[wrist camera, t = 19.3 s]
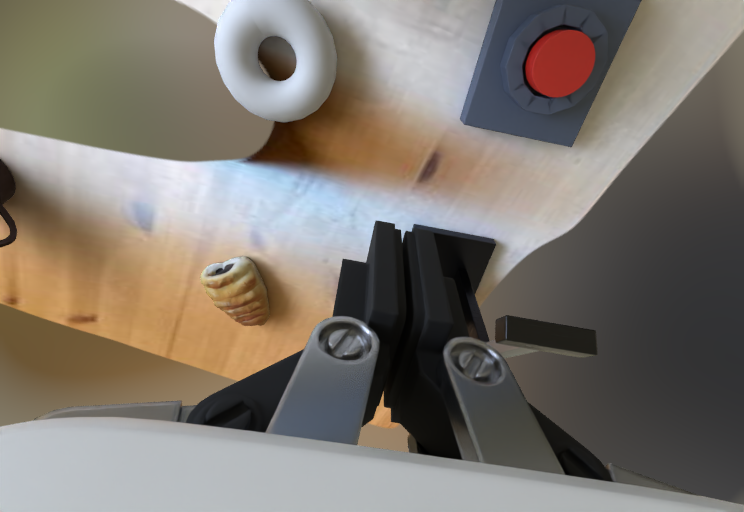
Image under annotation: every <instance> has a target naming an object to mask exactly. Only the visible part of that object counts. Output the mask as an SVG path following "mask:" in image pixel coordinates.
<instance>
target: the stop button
mask: <svg viewBox="0 0 744 512" xmlns="http://www.w3.org/2000/svg"><path fill="white" fill-rule="evenodd" d="M594 63H595V48H594V45H593V43H592V41H591V39H590V38H589V37H588V36H587V35H586V34H584V33H582V32H580V31H576V30H556V31H552V32H550V33H548V34H546V35H544V36H543V37H542V38H541V39H539V40H538V41H537V42H536V44H535V45H534V46H533V48H532V49H531V51H530V53H529V55H528V57H527V61H526V66H525V73H526V78H527V81H528V83H529V84H530V86H531V87H532V88H533V89H534V90H536V91H537V92H540V93H542V94H544V95H546V96H549V97H563V96H566V95H569V94H571V93H573V92H574V91H576V90H577V89H579V88H580V87H581V86H582V85H583V84H584V83H585V81H586V80H587V79H588V77H589V76H590V74H591V72H592V69H593V67H594Z"/></svg>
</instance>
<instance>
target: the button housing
mask: <svg viewBox="0 0 744 512" xmlns="http://www.w3.org/2000/svg"><path fill="white" fill-rule="evenodd" d="M640 2H641V0H496V2H495V6H494V9H493V12H492V15H491V19H490V22H489V25H488V28H487V32H486V35H485V38H484V42H483V45H482V48H481V51H480V55H479V58H478V61H477V64H476V68H475V71H474V74H473V78H472V81H471V84H470V87H469V91H468V94H467V97H466V101H465V104H464V107H463V110H462V114H461V117H460V120H461V121H462V122H463V124H464V125H469V126H473V127H478V128H483V129H488V130H492V131H497V132H502V133H507V134H511V135H516V136H521V137H526V138H530V139H535V140H540V141H545V142H549V143H554V144H559V145H564V146H568V147H572V145H573V143H574V141H575V139H576V137H577V135H578V133H579V130H580V128H581V126H582V124H583V122H584V120H585V118H586V116H587V114H588V111H589V109H590V107H591V105H592V103H593V101H594V99H595V97H596V95H597V93H598V90H599V88H600V86H601V84H602V82H603V80H604V78H605V76H606V74H607V72H608V69H609V67H610V65H611V63H612V61H613V59H614V57H615V55H616V53H617V51H618V48H619V46H620V44H621V42H622V40H623V38H624V36H625V34H626V32H627V30H628V27H629V25H630V23H631V21H632V19H633V17H634V15H635V13H636V11H637V9H638V6H639V4H640ZM556 30H576V31H580V32H582V33H584V34H586V35H587V36H588V37H589V38H590V39H591V41H592V43H593V45H594V48H595V63H594V67H593V69H592V72H591V74H590V76H589V77H588V79H587V80H586V81H585V83H584V84H583V85H582V86H581V87H580V88H579V89H577V90H576V91H574V92H573V93H571V94H569V95H566V96H563V97H549V96H546V95H544V94H542V93H540V92H537V91H536V90H534V89H533V88H532V87H531V86H530V84H529V83H528V81H527V78H526V73H525V66H526V61H527V57H528V55H529V53H530V51H531V49H532V48H533V46H534V45H535V44H536V42H537V41H538V40H539V39H541V38H542V37H543V36H544V35H546V34H548V33H550V32H552V31H556Z"/></svg>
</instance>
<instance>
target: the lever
mask: <svg viewBox="0 0 744 512" xmlns="http://www.w3.org/2000/svg"><path fill="white" fill-rule="evenodd" d="M495 333H496V334H495V340H493V341H489V342H486V343H487V344H489V345H491V346H492V347H494V348H495V349H496V350H497V351H498V352H499V353H500V354H501V355H502V356H503V358H507V357H512V356H517V355H522V354H527V353H531V352H536V351H545V352H551V353H557V354H563V355H569V356H575V357H581V358H582V357H588V356H595V355H597V341H596V331H594V330H589V329H583V328H578V327H572V326H567V325H561V324H555V323H549V322H543V321H538V320H532V319H526V318H520V317H514V316H509V315H506V316H504V317H501V318H499V319H497V320H496V332H495Z"/></svg>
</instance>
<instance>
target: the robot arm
mask: <svg viewBox="0 0 744 512" xmlns="http://www.w3.org/2000/svg"><path fill="white" fill-rule="evenodd" d="M383 391H384V407H387V408H391V422H395V423H400V424H401V425H402V426H403V427H404V428H405V429H406V430H407V431H408V432H409V435H408V448H409V453H408V452H401V451H393V450H387V449H379V448H372V447H365V446H358V445H357V444H358V439H359V435H360V430H361V427H363V426H364V425H365V424H367V423H368V422H369V421H371V420H372V419H373V418H374V414H375V411H376V408H377V406H379V403H380V400H381V397H382V394H383ZM0 512H744V505H740V504H736V503H731V502H727V501H722V500H717V499H713V498H708V497H702V496H699V495H696V494H693V493H691V492H688V491H685V490H682V489H679V488H677V487H674V486H671V485H668V484H666V483H663V482H660V481H657V480H655V479H652V478H649V477H646V476H643V475H641V474H638V473H635V472H633V471H630V470H626V469H624V468H622V467H619V466H616V465H613V464H610V463H609V464H607V465H606V467H604V465H603V464H602V463H601V461H600V460H599V459H597V458H596V457H595V456H594V455H593V454H592V453H591V452H590V451H589V450H588V449H586V448H585V447H584V446H583V445H581V444H580V443H579V442H578V441H576V440H575V439H574V438H572V437H571V436H570V435H569V434H567V433H566V432H565V431H564V430H562V429H561V428H560V427H559V426H557V425H556V424H555V423H553V422H552V421H551V420H550V419H549V418H547V417H546V416H545V415H543V414H542V413H541V412H540V411H538V410H537V409H536V408H535V407H533V406H532V405H531V404H529V403H528V402H527V400H526V398H525V397H524V394H523V393H522V391H521V389H520V387H519V385H518V383H517V381H516V379H515V377H514V375H513V373H512V372H511V370H510V368H509V366H508V364H507V362H506V361H505V359H504V358H503V356H502V355H501V354H500V353H499V352H498V351H497V350H496V349H495V348H494V347H492V346H491V345H489V344H487V343H486V342H484V341H481V340H479V339H476V338H472V337H469V333H468V329H467V325H466V322H465V318H464V314H463V310H462V306H461V303H460V299H459V295H458V291H457V287H456V284H455V281H454V279H452V278H448V277H443V273H442V269H441V264H440V260H439V255H438V251H437V246H436V242H435V237H434V233H433V231H430V230H424V229H419V228H413V230H412V232H408V231H406V232H405V235H404V238H403V242H402V238H401V230H398V229H395V224H392V223H387V222H382V221H376V222H375V226H374V230H373V234H372V239H371V243H370V248H369V253H368V257H367V262H366V263H364V262H358V261H353V260H347V259H343V261H342V267H341V272H340V278H339V283H338V289H337V294H336V300H335V305H334V311H333V317H331V318H328V319H325V320H323V321H322V322H320V323H318V324H317V326H316V327H315V328H314V330H313V331H312V333H311V336H310V338H309V340H308V342H307V344H306V346H305V348H304V349H303V350H301V351H299V352H297V353H295V354H293V355H291V356H289V357H287V358H285V359H283V360H281V361H279V362H277V363H275V364H273V365H271V366H269V367H267V368H265V369H263V370H261V371H259V372H257V373H255V374H253V375H251V376H249V377H247V378H245V379H242V380H240V381H238V382H236V383H234V384H232V385H230V386H228V387H226V388H224V389H222V390H220V391H218V392H216V393H214V394H212V395H210V396H209V397H207V398H206V399H204V400H203V401H201V402H200V403H199V404H198V405H194V406H182V401H166V402H148V403H131V404H112V405H95V406H77V407H67V408H62V409H57V410H53V411H51V412H48V413H46V414H44V415H42V416H39V417H37V418H35V419H34V420H33V421H29V422H23V423H17V424H12V425H7V426H1V427H0Z"/></svg>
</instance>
